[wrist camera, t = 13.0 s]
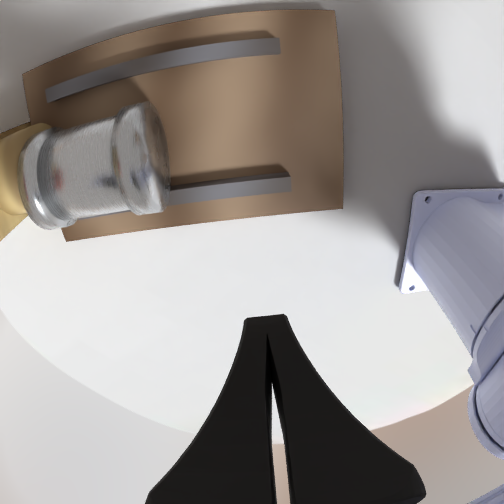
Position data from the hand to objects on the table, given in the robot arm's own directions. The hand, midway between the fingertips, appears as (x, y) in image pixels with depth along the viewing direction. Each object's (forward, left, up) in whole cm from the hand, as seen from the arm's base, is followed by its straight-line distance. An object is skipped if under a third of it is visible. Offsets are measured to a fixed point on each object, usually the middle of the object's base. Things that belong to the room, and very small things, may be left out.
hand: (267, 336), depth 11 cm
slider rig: (+6, -6, -9) cm, 13 cm away
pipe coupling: (+7, -6, -8) cm, 12 cm away
